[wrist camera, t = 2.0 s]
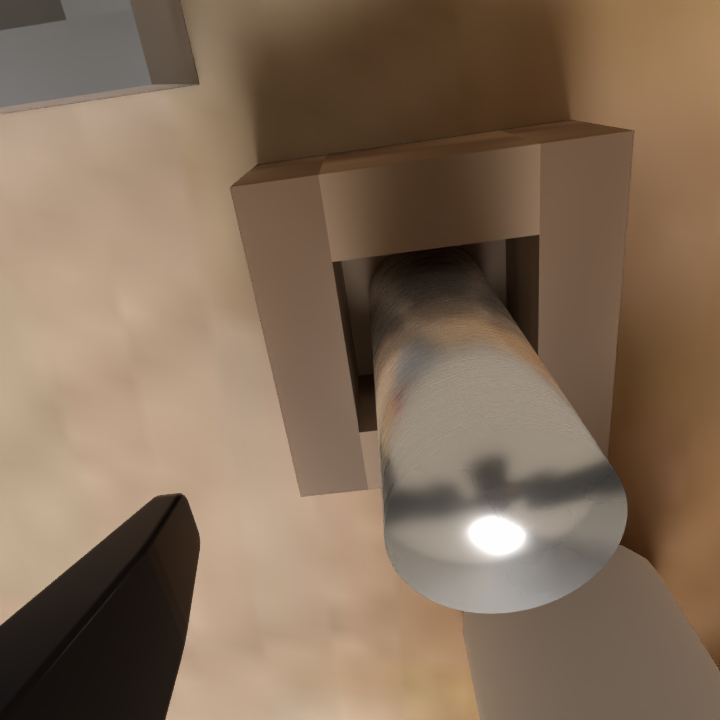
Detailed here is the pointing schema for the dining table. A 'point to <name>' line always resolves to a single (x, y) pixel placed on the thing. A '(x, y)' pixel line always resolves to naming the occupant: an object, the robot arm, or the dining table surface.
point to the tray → (90, 51)
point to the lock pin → (480, 447)
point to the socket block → (428, 231)
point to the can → (594, 654)
